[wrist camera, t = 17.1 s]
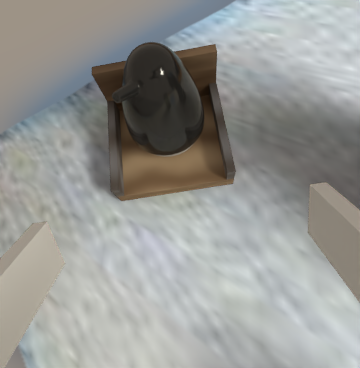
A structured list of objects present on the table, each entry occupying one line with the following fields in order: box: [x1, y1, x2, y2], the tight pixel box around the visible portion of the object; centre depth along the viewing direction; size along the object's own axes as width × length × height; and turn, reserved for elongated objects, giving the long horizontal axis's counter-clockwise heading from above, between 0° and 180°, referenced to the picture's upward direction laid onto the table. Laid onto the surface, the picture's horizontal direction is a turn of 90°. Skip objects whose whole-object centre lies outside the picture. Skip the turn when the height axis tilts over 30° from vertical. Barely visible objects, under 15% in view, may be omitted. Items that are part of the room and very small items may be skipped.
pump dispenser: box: [112, 42, 205, 157], centre depth 32 cm, size 10×10×15 cm
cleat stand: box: [92, 44, 236, 201], centre depth 36 cm, size 15×16×10 cm
